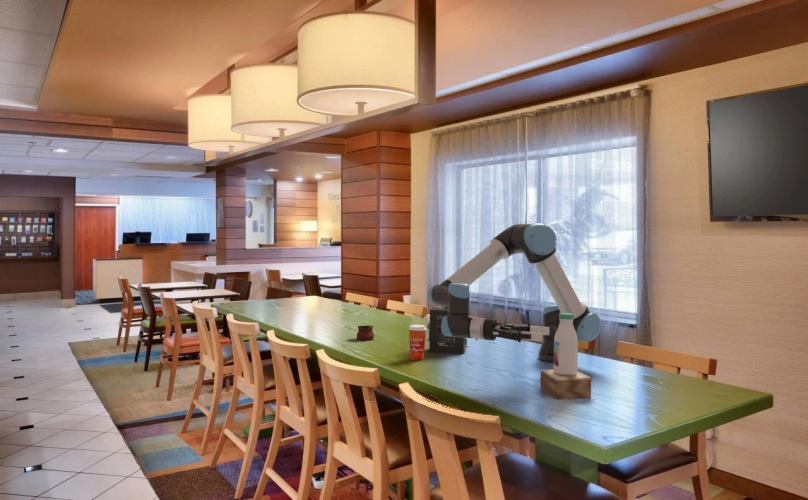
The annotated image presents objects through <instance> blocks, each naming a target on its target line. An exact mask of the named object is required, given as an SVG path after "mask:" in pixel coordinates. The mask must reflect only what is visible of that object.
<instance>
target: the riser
mask: <svg viewBox="0 0 808 500" xmlns="http://www.w3.org/2000/svg"><path fill="white" fill-rule="evenodd" d="M540 378H541V380H540V390H541V391H542V392H544V393H546V394H547V395H549V396H551V397H552V396H553V397H552V398H553V399H555V398H556V400H564V399H563V398H567V399H566V400H569V398H570V399H589V398H591V397H592V377H591V376H589V375H587V374H585V373H583V372H581V371H579V370H577V374H576V375H571V376H567V375H559V374H556V373H554V371H553V368H552V369H540Z"/></svg>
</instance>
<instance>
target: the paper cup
mask: <svg viewBox="0 0 808 500" xmlns="http://www.w3.org/2000/svg"><path fill="white" fill-rule="evenodd" d="M408 332H409V333H408V337H409V338H408V339H409V357H410V360H411V361H415V360H420V361H423V360H424V359H425V348H426V347H425V345H426V334H427V326H426V325H425V324H410V325H409V326H408Z"/></svg>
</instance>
